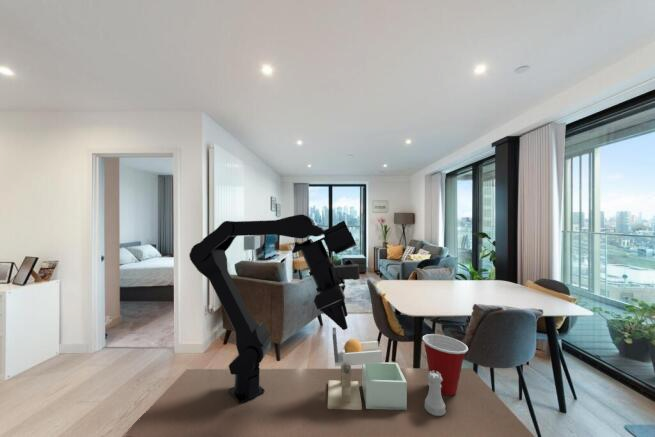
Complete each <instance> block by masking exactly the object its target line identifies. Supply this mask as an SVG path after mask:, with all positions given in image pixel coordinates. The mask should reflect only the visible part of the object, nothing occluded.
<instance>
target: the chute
mask: <svg viewBox="0 0 655 437" xmlns="http://www.w3.org/2000/svg"><path fill="white" fill-rule="evenodd" d="M331 335H332V343H333V346H332V347H333V355H334V356H333V357H334V358H333V359H334V367H341V366H342V365H350V366H357V365H359V366H362V364H374V363H383V362H384V361H383V360H384V359H383V351H382V350H380V348H379V341H378V340H371V341H358V342H359V343H360V345H361V352H352V353H346V352H345V344H346V342H344V341H341V351H342V352H341V351H339V350H338V349H339V348H338V338H337V328H336V327H332V334H331Z"/></svg>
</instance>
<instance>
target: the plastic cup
mask: <svg viewBox="0 0 655 437" xmlns="http://www.w3.org/2000/svg"><path fill="white" fill-rule="evenodd" d="M422 342H423V344H424V349H425V354H426V361H427V367H428V368H427V370H428V372H429V371H431V373H432V371H434V373H436V372H439V373H440V374H441V377H442V379H443V380H442V382H441V383H440V384H441V386H442V387H441V395H442V396H443V395H444V396H453V395H455V394H457V391H458V387H459V386H458V385H459V380H460V378H461V372H462V366H463V362H464V358H465V356H466V353H467V352H468V351H469V348H468V345H466V344H465V343H464V342H462V341H460V340H458V339H456V338H454V337H450V336H448V335H442V334H439V333H438V334H437V333H430V334H429V333H427V334H425V335H423V336H422Z"/></svg>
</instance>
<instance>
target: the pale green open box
mask: <svg viewBox="0 0 655 437" xmlns="http://www.w3.org/2000/svg"><path fill="white" fill-rule="evenodd" d="M407 384H408V382H407V380H406V378H405V376H404V374H403V372H402V369H401V368H400V366H399V364H398V362H384V361H383V363H374V364H361V387H362V394H363V399H364V403H365V404H364V405H365V409H367V410H368V409H370V410H398V411H407V408H408V407H407V404H408V403H407V400H408V399H407V398H408V397H407V396H408V394H407V393H408V391H407V388H408V387H407Z"/></svg>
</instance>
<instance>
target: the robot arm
mask: <svg viewBox="0 0 655 437" xmlns="http://www.w3.org/2000/svg"><path fill="white" fill-rule="evenodd" d="M269 235H270V236H271V235H273V236H274V235H275V236H280V237H281V236H283V237H286V238H287V237H288V238H294V239H307V240H305V241H303V242H299V241H295V242H294V246H293V248H292V251H291V253H292V254H295V253H298V252H301V255H302V257H303V259H304V261H305V264H306V266H307V267H308V271H309V272H308V274H309V276H310V277H312V279H313V281H314V284H315V286H316V288H315V290H316V294H315V297H314V300H313V302H314V304H315V307H316V309H317V310H319V311H320V312H322V313H323V314H324V315H326V316H327V317H328V318H329V319H331V321H332V322H334V323H335V324H336V325H337V326H338V327H339V328H340V329H342V330H343V331H346V330H348V324H347V320H346V317H347V316H348V315H349V314H348V309H347V306H346V302H345V300H346V299H345V298H346V296H345V289H346V282H345V280H360V278H361V277H360V265H359V263H353V261H352V259H346V260H345V261H344V262H343V264H339V265H336V264H335V262H334V261H333V260H332V259H331V258H330V256H329V253H333V252H334V254H335V255H338V254H340V253H343V252H344V251H347V250H349V249H351V248H354V247H355V246H357V243H356V241H355V239H354V235H353V234H352V232H351V231H350V230H349V227H348V225H347V223H346V221H345V220H341V221H340V222H338V223H337V224H335V225H333V226H331V227H328V228H326V229H324V227H320V226H319V225H316V223H315V220H314V219H313V218H312V217H310V216H308V215H305V214H301V213H300V214H297V215H296V214H295V215H291V216H286V217H282V218H278V219H271V220H270V219H269V220H246V221H245V220H244V221H243V220H241V221H239V220H238V221H233V220H232V221H231V220H225V221H222V222H221V223H220V224H219V226H218V227H217V228H216V229H214V230H213V231H212V232H210V233H209V234H208V235H207V236H205V237H204V238H202V240H201V241H200V242H198V243H196V244H194V245H193V246H192V247H191V249H190V252H189V255H188V256H189V260H190V261H191V263H192V265H193V266H194V267H195V268H196V270H197V271H198V272H199V273H200V274H202V275H203V276H204V277H205V278H207V279H208V281H209V282H210V284H211V287H212V288H213V290H214V292H215V294H216V296H217V298H218V301H219V302H220V304H221V306H222V308H223V310H224V312H225V314H226V316H227V318H228V320H229V322H230V323H231V326H232V328H233V330H234V332H235V345H236V346H235V347H236V351H237V356H235V358H233V360H232V361H231V362H230V363H229V365H228V369H229V372H230V374H231V375H234V385H233V387H230V388H228V393H229V394H230V395H231V396H232V397H233V398H234V399H235V400H236V401H237V402H238V403H239V404H242V403H244V402H246V401H249V400H251V399H253V398H256V397H259V396H260V395H262V394H265V389H264V388H263V387H262V386H261V385H260V380H261V379H260V364H261V362H262V361H263V359H264V358H265V356H266V354H267V353H268V352H269V351H270V349H271V346H272V340H271V337H272V334H271V333H270V332H269V331H268V329H267V326H266V323H265V322H264V321H263V322H261V323H260V324H259V323H257V322H256V321H255V320H254V319H253V318H252V317H253V316H252V315H251V314H250V311H249V310H248V308H247V305H246V303H245V302H244V300H243V297H242V296H241V294H240V292H239V290H238V288H237V286H236V285H235V282H234V280H233V278H232V276H231V275H230V272H229V271H228V257H227V255H226V251H227V250H228V249H229V248H230V246H231V245H232V244H233V242H234V240H235V239H236V238H237V237H239V236H240V237H241V236H269ZM322 236H324V237H322ZM310 237H321V238H320V239H317V240H315V241H313V239H312V238H310ZM308 238H309V239H308ZM323 242H324V243H325V245H324V243H323ZM325 246H326V247H325ZM327 250H328V252H329V253H328V252H327ZM341 284H342V285H341Z"/></svg>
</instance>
